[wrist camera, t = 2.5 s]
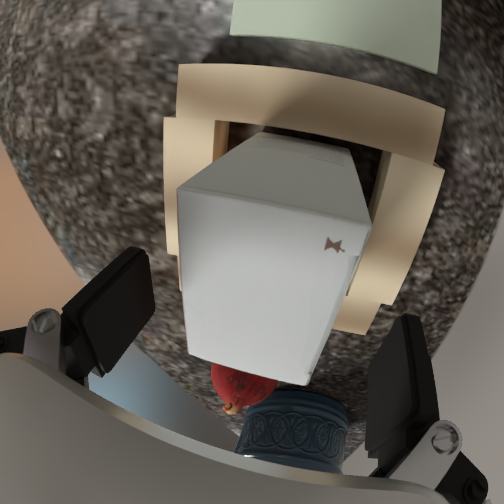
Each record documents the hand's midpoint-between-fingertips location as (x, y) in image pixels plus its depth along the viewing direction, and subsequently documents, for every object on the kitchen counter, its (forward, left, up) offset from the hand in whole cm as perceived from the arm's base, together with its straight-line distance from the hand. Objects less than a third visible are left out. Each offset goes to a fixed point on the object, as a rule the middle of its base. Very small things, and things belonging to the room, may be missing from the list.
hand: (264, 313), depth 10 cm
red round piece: (+13, -1, -10) cm, 17 cm away
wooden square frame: (0, 0, -10) cm, 10 cm away
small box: (0, 0, -10) cm, 10 cm away
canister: (+27, +6, -10) cm, 29 cm away
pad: (-17, +1, -10) cm, 19 cm away
